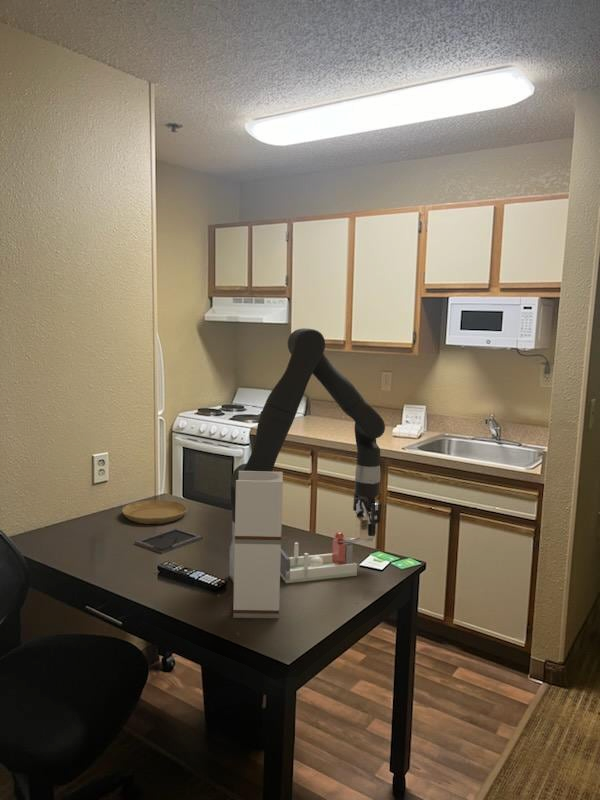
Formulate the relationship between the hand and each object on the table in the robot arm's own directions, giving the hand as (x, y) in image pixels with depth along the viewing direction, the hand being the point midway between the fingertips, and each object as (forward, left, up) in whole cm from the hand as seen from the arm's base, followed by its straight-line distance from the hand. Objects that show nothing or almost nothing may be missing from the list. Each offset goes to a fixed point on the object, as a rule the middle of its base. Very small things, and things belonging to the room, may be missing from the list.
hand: (365, 530), depth 186 cm
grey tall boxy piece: (-39, -18, -12) cm, 44 cm away
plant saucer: (-57, +66, -12) cm, 88 cm away
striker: (-4, 0, -10) cm, 10 cm away
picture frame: (-55, +37, -13) cm, 67 cm away
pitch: (-16, 0, -12) cm, 19 cm away
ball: (-16, 0, -9) cm, 18 cm away
